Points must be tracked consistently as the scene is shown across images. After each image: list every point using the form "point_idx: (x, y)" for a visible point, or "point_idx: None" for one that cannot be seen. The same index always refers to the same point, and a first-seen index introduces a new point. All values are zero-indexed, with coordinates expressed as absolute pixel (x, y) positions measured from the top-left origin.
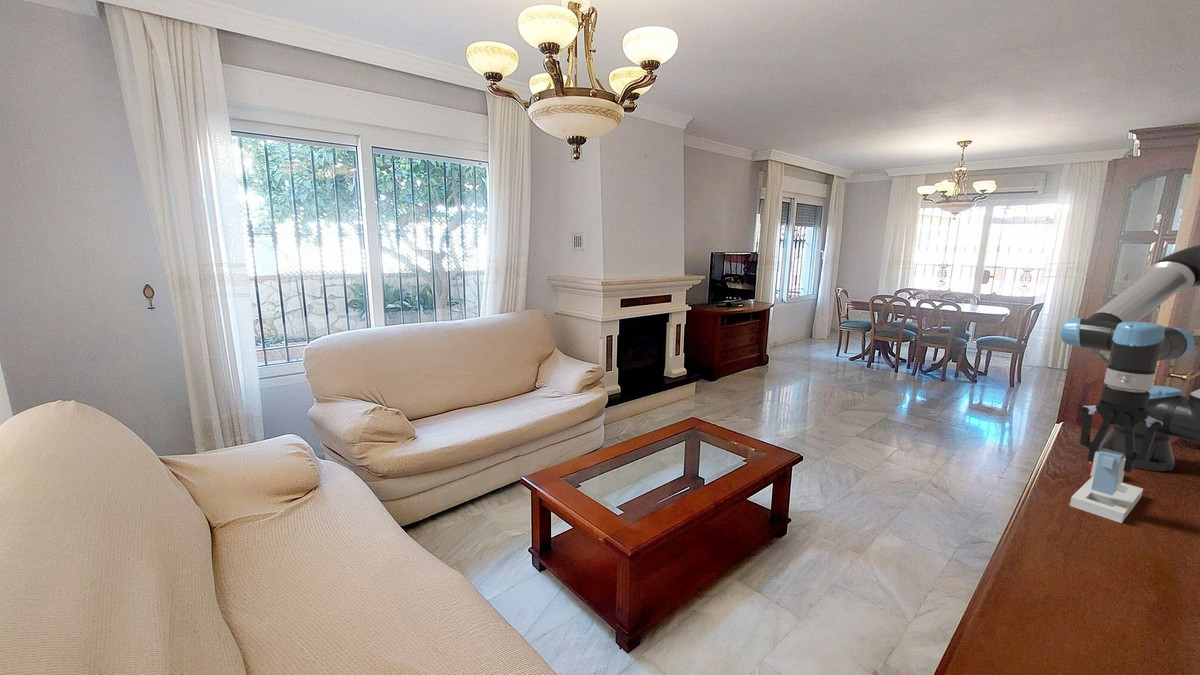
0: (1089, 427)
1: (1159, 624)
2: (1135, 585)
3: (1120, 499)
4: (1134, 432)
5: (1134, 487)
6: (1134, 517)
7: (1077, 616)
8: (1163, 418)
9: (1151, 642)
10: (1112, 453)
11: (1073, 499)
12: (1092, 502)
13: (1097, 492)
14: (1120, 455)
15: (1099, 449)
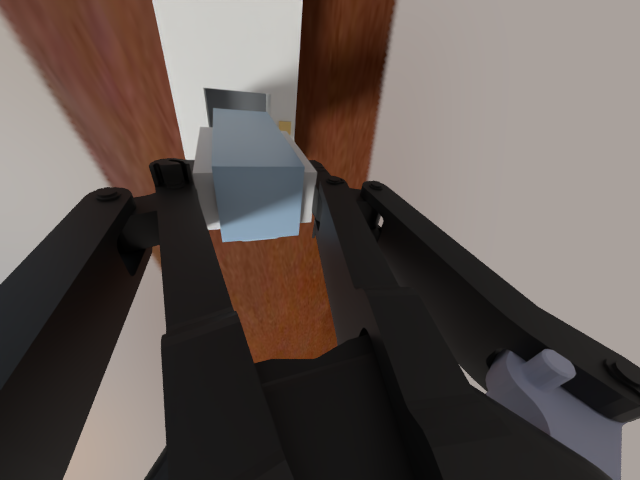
0: (98, 341)
1: (329, 329)
2: (314, 303)
3: (272, 75)
4: (391, 274)
5: None
6: (299, 88)
7: None
8: None
9: (324, 346)
10: (265, 213)
11: None
12: None
13: (215, 69)
14: (294, 212)
15: (199, 176)
